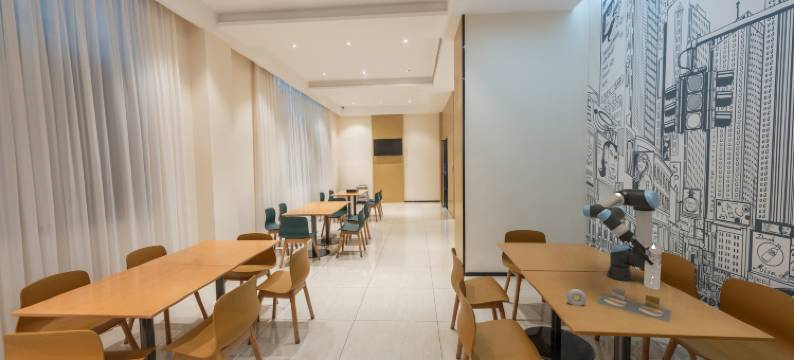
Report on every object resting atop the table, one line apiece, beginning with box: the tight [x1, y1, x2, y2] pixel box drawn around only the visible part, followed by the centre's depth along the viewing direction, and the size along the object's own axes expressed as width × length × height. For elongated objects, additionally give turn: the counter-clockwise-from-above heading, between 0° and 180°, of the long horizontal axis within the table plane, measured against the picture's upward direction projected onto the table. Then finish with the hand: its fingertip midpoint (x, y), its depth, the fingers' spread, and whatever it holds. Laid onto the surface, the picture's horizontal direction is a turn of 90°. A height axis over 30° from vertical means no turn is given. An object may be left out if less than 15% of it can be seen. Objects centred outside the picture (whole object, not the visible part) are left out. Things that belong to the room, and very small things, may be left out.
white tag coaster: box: [604, 286, 627, 307], centre depth 183 cm, size 14×11×6 cm
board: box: [596, 293, 672, 323], centre depth 177 cm, size 18×32×1 cm, turn 46°
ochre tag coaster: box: [638, 294, 664, 317], centre depth 172 cm, size 14×11×6 cm
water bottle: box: [643, 241, 662, 290], centre depth 169 cm, size 7×7×25 cm
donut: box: [566, 288, 587, 307], centre depth 180 cm, size 10×4×10 cm, turn 75°
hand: (658, 267), depth 168 cm, fingers closed on water bottle, 7 cm apart
